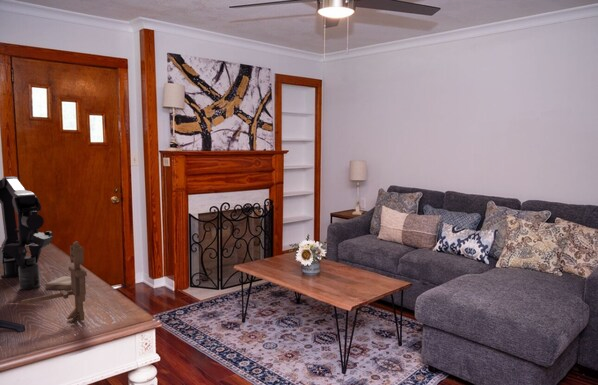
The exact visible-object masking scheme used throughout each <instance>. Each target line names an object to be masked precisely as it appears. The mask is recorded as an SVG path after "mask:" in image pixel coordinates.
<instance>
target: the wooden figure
mask: <svg viewBox="0 0 598 385" xmlns="http://www.w3.org/2000/svg"><path fill="white" fill-rule="evenodd" d="M69 256H70V258H69V259H70V263H71V264H73V265H69V266H68V271H69V272H70V277H71V286H72V289H71V290H68V291H66V289H60V290H59V293H58V292H57V293H52V294H48V295H43V296H38V297H31V298H26V299H23V300H21V305H22V306H24V305H28V304H33V303H39V302H44V301H49V300H53V299H58V298H59V299H60V298H63V299H64V300H66V299H69V296H74V309H73V310H72V311H71V313H70V314H69V315H68V316H67V317H66V319H67V320H69V323H70V324H74V323H77V324H78V325H79V327H81V328H82V327H83V326H82V325H83V324H81V321H84V320H85V311H84V303H85V302H86V294H87V293H86V281H85V280H86V277H87V276H88V274H87V271H86V270H85V269H84V268H83V267H82V266H81V265H83V264H84V263H85V257H84V247H83V246H81V245H80V244H79V241H77V240H76V241H74V242H73V243H72V245H70V246H69Z"/></svg>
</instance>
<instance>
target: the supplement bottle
mask: <svg viewBox="0 0 598 385" xmlns="http://www.w3.org/2000/svg"><path fill="white" fill-rule="evenodd" d="M35 261H36V258H35V256H31V255H29V256H28V255H26V257H25V267H24V269H22V268H21V267H20V266H19V268H18V269H19V276H18V280H19V281H18V282H19V289H20V290H24V291H27V290H28V291H29V290H34V289H38V288H40V286H41V276H40V265H39V263H38V262H37V263H35Z"/></svg>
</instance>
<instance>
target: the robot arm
mask: <svg viewBox="0 0 598 385" xmlns="http://www.w3.org/2000/svg"><path fill="white" fill-rule="evenodd" d="M0 207H1V208H0V209H1V215H2V225H3V233H4V239H3V241H2V243H1V245H0V246H1V247H0V248H1V249H0V264H2V265H3V266H2V267H3V268H2V269H3V274H2V275H0V277H1V278H16V277H19V269H18V268H19V266H20V267H21V268H22V269H24V267H25V257H26V256H27V253H28V250H29V253H30V256H35V258H36V261H35V263H37V264H38V262H39V259H40V256H41V252H42V250H43V249H44V248H45V247H47V245H48V246H49V245H50V244H51V243H52V241H53V239H54V234H53V231H51V230H48V231H45V232H40V228H42V227H43V225H44V222H45V220H44V218H43V216H42V215H40V214H38V212H41V211H42V209H41V208H42V205H41V203H40V200H39V198H38V196H37V195H36V194H35V193H34V192H32V191H30V190H26V189H25V187H24V186H23V184H22V183H21V182H20V180H19V177H17V176H4V177H2V178H1V179H0ZM27 248H28V250H27Z"/></svg>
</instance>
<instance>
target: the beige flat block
mask: <svg viewBox="0 0 598 385" xmlns="http://www.w3.org/2000/svg"><path fill="white" fill-rule="evenodd" d="M44 286H45V289H47V290H67V289H69V290H68V291H71V290H72V286H71V275H70V276H68V275H67V276H66V275H65V276H64V275H62V276H60V277H58V278H56V279H53V280H51V281H49V282H46V283H45V285H44Z"/></svg>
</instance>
